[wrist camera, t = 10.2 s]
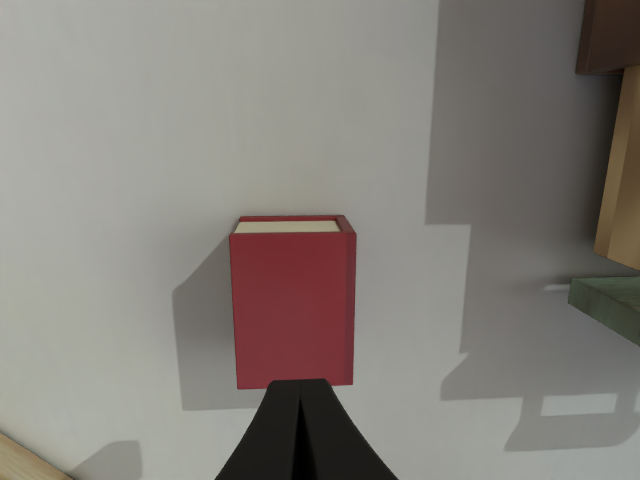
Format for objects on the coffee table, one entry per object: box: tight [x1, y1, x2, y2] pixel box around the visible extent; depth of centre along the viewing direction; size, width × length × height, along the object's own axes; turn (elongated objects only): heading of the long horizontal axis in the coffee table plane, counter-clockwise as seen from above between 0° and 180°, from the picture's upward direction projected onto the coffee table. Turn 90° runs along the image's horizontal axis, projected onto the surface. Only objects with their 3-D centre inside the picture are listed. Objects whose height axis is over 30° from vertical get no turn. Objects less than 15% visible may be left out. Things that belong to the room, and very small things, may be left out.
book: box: [229, 215, 356, 390], centre depth 17 cm, size 6×4×3 cm
